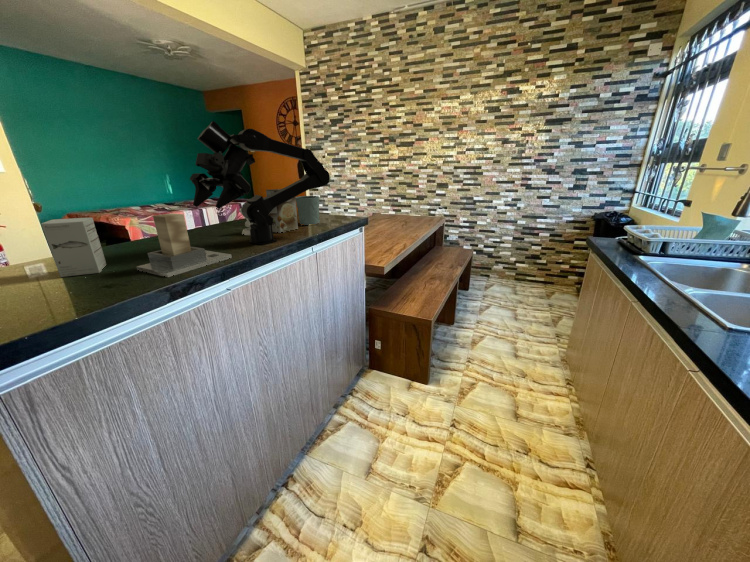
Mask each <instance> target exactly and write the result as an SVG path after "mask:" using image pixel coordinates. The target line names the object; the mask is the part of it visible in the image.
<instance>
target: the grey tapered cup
mask: <svg viewBox="0 0 750 562" xmlns="http://www.w3.org/2000/svg"><path fill="white" fill-rule="evenodd" d="M295 198H296V209H297V215H298V219H299V220H298V221H299V225H300V224H304V225H309V224H317V223H319V224H320V196H319V195H301V196H299V195H298V196H296V197H295Z"/></svg>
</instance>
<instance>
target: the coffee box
mask: <svg viewBox="0 0 750 562" xmlns="http://www.w3.org/2000/svg"><path fill="white" fill-rule="evenodd" d="M281 189H282V188H274V189H265V193H266V197H267V196H269V195H271V194H273V193H275V192H277V191H279V190H281ZM268 215H269V216H271V217H272V218H273V224H272V230H273V233H277V232H278V234H282V233H281V232H283V233H287V232H286V231H289V232H291V231H290V230H294V231H296V230H295V229H298V230H299V226H298V210H297V204H296V198H295V197H294V198H292V199H290V200H288V201H286V202H284V203H283V204H281V205H279V206H277V207H275V208H274V209H273V210H272V211H271V212H270V213H269V214H268Z"/></svg>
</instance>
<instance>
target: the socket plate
mask: <svg viewBox="0 0 750 562" xmlns="http://www.w3.org/2000/svg"><path fill="white" fill-rule="evenodd" d="M190 247H191V251H189V252H185V253H181V254H177V255H173V256H171V255H165V254H162V250H161V249H159V250H156V251H151V252H147V257H148V261H149V263H146V264H141V265H136V266H135V268H136V271H138V270H139V272H142V271H143V273H146V272H147V274H152V275H156V276H160V277H164V276H165V278H170V277H174V276H177V275H180V274H183V273H187V272H189V271H194V270H197V269H199V268H203V267H207V266H210V265H213V264H217V263H219V261H220V262H223V261H226V260H230V259H232V254H231V253H225V252H218V251H212V250H206V249H205V248H203V247H196V246H191V245H190ZM229 258H230V259H229ZM206 265H207V266H206ZM173 275H174V276H173Z"/></svg>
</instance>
